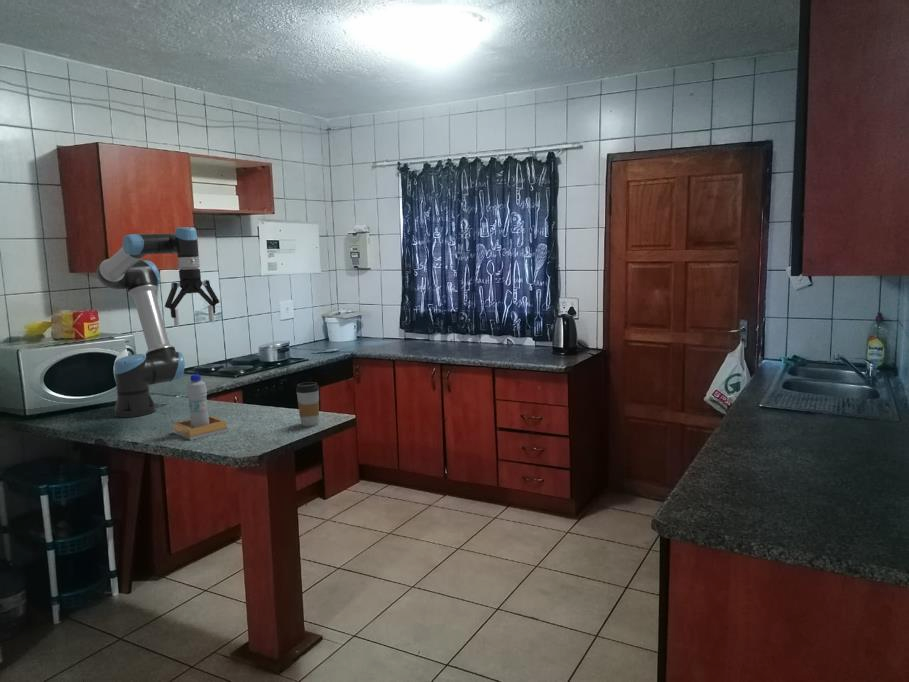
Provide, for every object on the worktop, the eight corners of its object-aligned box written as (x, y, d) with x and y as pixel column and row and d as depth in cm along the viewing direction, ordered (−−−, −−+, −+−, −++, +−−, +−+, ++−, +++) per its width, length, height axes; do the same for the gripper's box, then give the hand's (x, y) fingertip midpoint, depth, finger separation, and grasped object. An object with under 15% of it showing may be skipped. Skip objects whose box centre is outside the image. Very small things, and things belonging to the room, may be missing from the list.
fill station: (172, 432, 238) (171, 422, 237) (210, 424, 247) (209, 414, 247) (190, 440, 227) (189, 430, 226) (228, 431, 237) (227, 421, 236)
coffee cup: (296, 423, 245) (293, 383, 242) (318, 419, 248) (316, 380, 246) (300, 428, 237) (297, 387, 235) (323, 425, 240) (321, 385, 238)
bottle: (203, 431, 233) (198, 376, 230) (186, 431, 234) (181, 376, 231) (214, 426, 239) (209, 372, 237) (197, 425, 241) (192, 372, 238)
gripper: (159, 270, 238) (165, 328, 241) (225, 266, 256) (229, 321, 259) (151, 270, 243) (157, 327, 247) (216, 266, 261) (221, 320, 264)
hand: (194, 324), depth 253 cm, fingers open, 13 cm apart
